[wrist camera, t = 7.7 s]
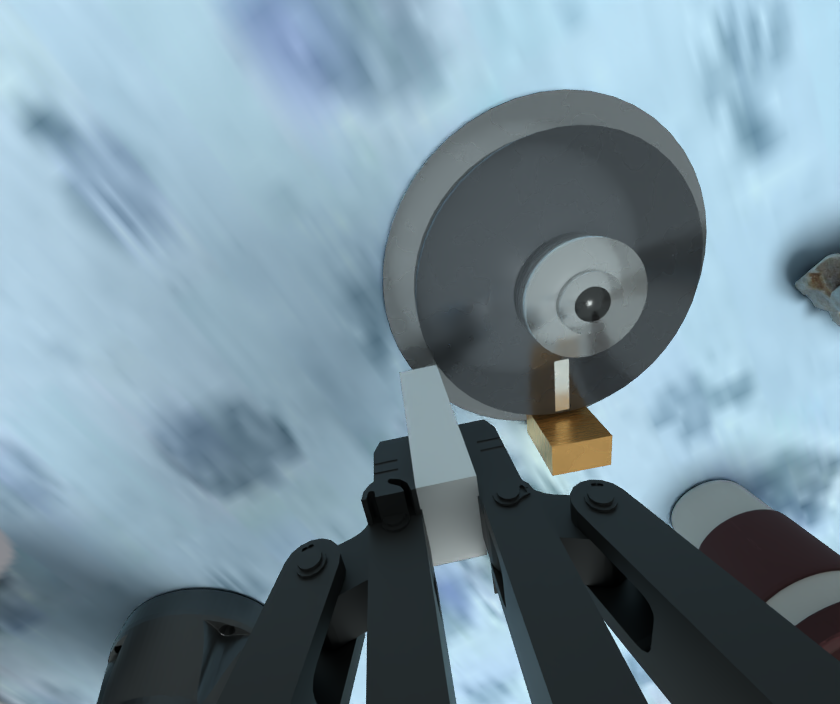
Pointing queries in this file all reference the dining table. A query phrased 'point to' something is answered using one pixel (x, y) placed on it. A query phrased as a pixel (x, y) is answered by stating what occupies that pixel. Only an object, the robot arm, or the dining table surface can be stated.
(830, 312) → the rock
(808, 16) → the dining table surface
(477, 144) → the turntable base
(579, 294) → the cover
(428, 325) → the turntable
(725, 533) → the coffee cup
